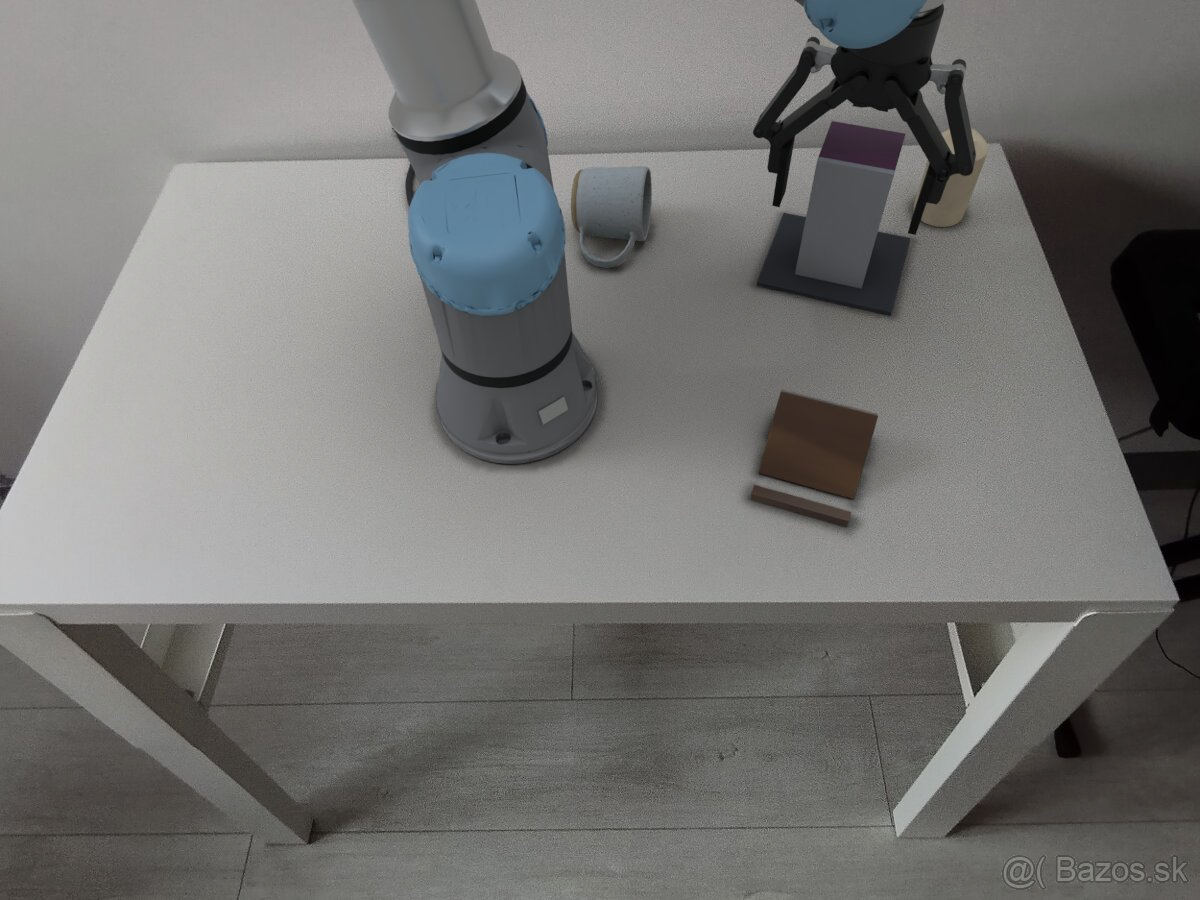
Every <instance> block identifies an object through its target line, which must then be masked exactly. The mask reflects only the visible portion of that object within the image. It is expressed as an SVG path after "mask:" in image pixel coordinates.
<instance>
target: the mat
mask: <svg viewBox="0 0 1200 900" xmlns="http://www.w3.org/2000/svg"><path fill="white" fill-rule="evenodd" d="M805 220H806V216H802V215H797V214H792V213H788V212H783V213H782V216H781V219H780V221H779V224H778V226H777V229H776V232H775V235H774V237H773V239H772V242H771V245H770V246H769V249H768V252H767V255H766V258H765V260H764V262H763V265H762V267H761V270H760V273H759V276H758V278H757V281H756V287H759V288H761V287H762V288H765V289H769V290H774V291H779V292H783V293H787V294H792V295H797V296H799V297H800V296H801V297H806V298H810V299H814V300H818V301H823V302H826V303H827V302H829V303H832V304H837V305H841V306H846V307H849V308H855V309H859V310H863V311H867V312H872V313H877V314H881V315H886V316H892V314H893V310H894V306H895V302H896V298H897V294H898V290H899V286H900V283H901V282H900V281H901V277H902V273H903V269H904V265H905V261H906V257H907V254H908V249H909V245H910V241H911V237H908V236H902V235H897V234H892V233H887V232H882V231H878V233H877V236H876V240H875V243H874V247H873V250H872V254H871V257H870V261H869V264H868V268H867V271H866V275H865V278H864V282H863V286H862V288H861V289H860V288H856V287H851V286H847V285H842V284H837V283H833V282H828V281H824V280H819V279H814V278H810V277H805V276H801V275H796V274H795V271H796V266H797V261H798V256H799V251H800V246H801V241H802V235H803V230H804V225H805Z"/></svg>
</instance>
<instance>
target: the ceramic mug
mask: <svg viewBox="0 0 1200 900" xmlns="http://www.w3.org/2000/svg"><path fill="white" fill-rule="evenodd" d="M650 169H651V168H650V167H648V166H592V167H587V168H582V169H579V170H578V171H577V172H576V173H575V175H574V177H573V181H572V184H571V185H572V186H571V194H570V196H571V197H570V214H571V216H570V217H571V222H572V226H573V229H575V231H576V232H577V233H578V234H579V247H580V250H581V253H582V255H583V257H584V259H585V260H586V261H588V262H589V263H590V264H591V265H593V266H596V267H598V268H615V267H617V266H619V265H621V264H622V263H624V262H625V261H626V260H627V259H628V258H629V256H630V254H631V253H632V251H633V249H634V246H635V244H636V242H644V241H646V239H648V234H649V230H650V225H651V217H652V205H653V200H652V199H653V198H652V197H653V187H652V186H653V185H652V173H651V170H650ZM587 236H589V237H598V238H608V239H615V240H616V239H617V240H626V241H627V244H626V245H625V247H624V248H623V250H622V251H621V252H620V253H618V254H617V255H615V256H613V257H612V258H609V259H602V258H599V256H597V255H594V254H591V252H590V251H588V250H587V249H586V237H587Z"/></svg>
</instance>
